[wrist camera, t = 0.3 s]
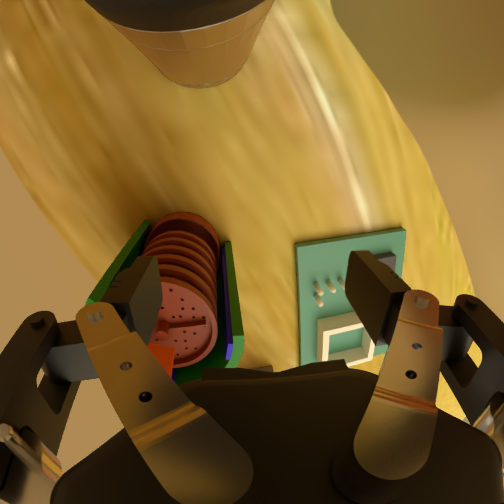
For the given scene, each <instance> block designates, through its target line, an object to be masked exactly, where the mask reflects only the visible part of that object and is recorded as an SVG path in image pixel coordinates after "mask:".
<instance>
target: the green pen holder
mask: <svg viewBox="0 0 504 504" xmlns="http://www.w3.org/2000/svg"><path fill="white" fill-rule="evenodd" d="M149 224H150V223H149V222H148V221H146V220H144V221H143V223H142V224H141V225H140V226H139V228H138V229H137V230H136V232H135V233H134V234H133V236H132V237H131V238H130V239H129V241H128V242H127V243H126V245H125V246H124V247H123V249H122V250H121V252H120V253H119V254H118V256H117V257H116V258H115V260H114V261H113V263H112V264H111V265H110V267H109V268H108V270H107V271H106V272H105V274H104V275H103V277H102V278H101V280H100V281H99V282H98V284H97V285H96V287H95V289H94V290H93V291H92V293H91V294H90V296H89V297H88V299H87V302H86V305H89V304H92V303H96V302H100V300H101V299H102V297H103V295H104V294H105V292H106V291H107V289H108V288H110V285H111V283H112V282H113V280H114V279H115V277H116V276H117V275H118V274H119V273H120V272H122V271H123V270H124V269H126V268H130V267H131V266H132V264H133V263H134V261H135V260H136V258H137V257H138V256H156V258H157V261H158V267H159V274H160V280H161V286H162V294H163V298H162V305H161V308H160V311H159V314H158V317H157V320H156V323H155V326H154V329H153V332H152V335H151V338H150V341H149V344H148V349H149V350H150V351H151V353H152V354H153V355H154V357H155V358H156V359H157V361H158V362H159V363H160V364H161V366H162V367H163V368H164V369H165V371H166V372H167V373H168V374H169V376H170V377H171V378H172V379H173V381H174V382H175V383H176V384H177V385H178V386H180V385H182V384H185V383H187V382H190V381H194V380H197V379H202V370H203V368H236V367H237V365H238V364H239V362H240V360H241V357H242V354H243V350H244V332H243V325H242V318H241V311H240V304H239V297H238V290H237V283H236V275H235V268H234V260H233V253H232V245H231V242H225V247H222V252H221V264H220V266H219V267H218V264H219V259H220V245H219V239H218V236H217V233H216V231H215V229H214V228H213V227H212V225H211V224H210V223H209V222H208V221H207V220H205V219H204V218H202V217H201V216H199V215H196V214H193V213H189V212H177V213H172V214H169V215H167V216H165V217H164V218H162V219H161V220H160V221H159V222H158V223H157V224H156V225H155V226H154V228H153V229H152V231H151V233H150V234H149V236H148V238H147V240H146V243H145V246H144V236H145V232H146V230H147V227H148V225H149ZM217 267H218V269H217ZM86 305H85V306H86Z"/></svg>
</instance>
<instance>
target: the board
mask: <svg viewBox="0 0 504 504" xmlns="http://www.w3.org/2000/svg"><path fill="white" fill-rule="evenodd" d="M405 240H406V230H405V229H403V228H396V229H390V230H383V231H376V232H370V233H363V234H356V235H350V236H343V237H337V238H330V239H323V240H317V241H310V242H304V243H297V244H295V254H296V271H297V292H298V317H299V351H300V366H302V365H305V364H309V363H313V362H322V361H330V360H338V359H344V360H345V362H346V364H347V367H349V366H353V365H356V364H360V363H364V362H367V361H370V360H372V358H373V356H376V355H379V354H383V353H386V352H387V349H388V345H381V346H375V345H374V343H373V341H372V339H371V338H370V336H369V334H368V333H367V331H366V329H365V328H364V326H363V324H362V322H361V321H360V319H359V317H358V316H357V314H356V313H355V311H354V309H353V308H352V306H351V304H350V303H349V301H348V299H347V298H346V295H345V279H346V273H347V266H348V259H349V254H350V252H351V251H358V250H369V251H370V252H371V253H372V254H373V255H374V256H375V257H376V258H377V259H378V260H379V261H381V262H383V263H385V264H386V265H388V266H389V267H390V268H391V269H392V270H393V271H394V272H395V273H396V274H397V275H398V276H399V278H401V275H402V268H403V259H404V250H405Z"/></svg>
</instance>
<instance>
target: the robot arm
mask: <svg viewBox="0 0 504 504" xmlns="http://www.w3.org/2000/svg"><path fill="white" fill-rule="evenodd" d="M85 1H86V2H87V3H88V4H89V5H90V6H91V7H93V8H94V9H95V10H96V11H97V12H98V13H99V14H101V15H102V16H103V17H104V18H105V19H106V20H107V21H108V22H110V23H111V24H112V25H113V26H114V27H115V28H116V29H117V30H118V31H119V32H121V33H122V34H123V35H124V36H125V37H126V38H127V39H128V40H129V41H131V42H132V43H133V44H134V45H135V46H136V47H137V48H138V49H139V50H140V51H141V52H142V53H143V54H144V55H145V56H146V57H147V58H148V59H149V60H150V61H151V62H152V63H153V64H154V65H155V66H156V67H157V68H158V69H159V70H160V71H161V72H162V73H163V74H164V75H166V76H167V77H168V78H169V79H170V80H172V81H173V82H175V83H177V84H179V85H182V86H185V87H190V88H208V87H212V86H216V85H219V84H221V83H223V82H226V81H227V80H229V79H230V78H232V77H233V76H235V75H236V74H237V73H238V72H239V71H240V70H241V69H242V67H243V65H244V64H245V62H246V61H247V58H248V56H249V54H250V52H251V50H252V47H253V45H254V43H255V41H256V38H257V36H258V34H259V32H260V30H261V28H262V25H263V23H264V21H265V19H266V17H267V15H268V13H269V11H270V9H271V7H272V5H273V3H274V1H275V0H85ZM345 295H346V298H347V299H348V301H349V303H350V304H351V306H352V308H353V309H354V311H355V313H356V314H357V316H358V317H359V319H360V321H361V322H362V324H363V326H364V328H365V329H366V331H367V333H368V334H369V336H370V338H371V339H372V341H373V343H374V345H375V346H381V345H388V349H387V352H386V355H385V357H384V360H383V363H382V366H381V369H380V371H379V374H378V375H376V374H373V373H370V372H367V371H363V370H359V369H351V368H348V367H347V364H346V362H345V360H344V359H338V360H330V361H322V362H313V363H309V364H305V365H302V366H299V367H295V368H292V369H288V370H285V371H281V372H266V371H259V370H251V369H244V368H203V370H202V379H197V380H194V381H190V382H187V383H185V384H182V385H180V386H178V385H177V384H176V383H175V382H174V381H173V379H172V378H171V377H170V376H169V374H168V373H167V372H166V371H165V369H164V368H163V367H162V366H161V364H160V363H159V362H158V361H157V359H156V358H155V357H154V355H153V354H152V353H151V351H150V350H149V349H148V344H149V341H150V338H151V335H152V332H153V329H154V326H155V323H156V320H157V317H158V314H159V311H160V308H161V305H162V298H163V294H162V286H161V280H160V274H159V267H158V261H157V258H156V256H138V257H137V258H136V260H135V261H134V263H133V264H132V266H131V267H130V268H126V269H124V270H123V271H122V272H120V273H119V274H118V275H117V276H116V277H115V279H114V280H113V282H112V283H111V285H110V288H108V289H107V291H106V292H105V294H104V295H103V297H102V299H101V300H100V302H96V303H92V304H89V305H86V306H84V307H83V308H81V309H80V310H79V311H78V313H77V314H76V320H74V321H68V322H61V323H57V320H56V318H55V316H54V314H53V313H52V312H50V311H40V312H36V313H34V314H32V315H30V316H29V317H27V318H26V319H25V320H24V321H23V323H22V324H21V325H20V327H19V328H18V330H17V331H16V332H15V334H14V335H13V337H12V338H11V340H10V341H9V342H8V344H7V345H6V347H5V348H4V350H3V351H2V353H1V354H0V504H504V488H503V477H504V323H503V322H502V321H501V320H500V319H499V318H498V317H497V316H496V315H495V314H494V313H493V312H492V311H491V310H490V309H489V308H488V307H487V306H486V305H485V304H484V303H483V302H482V301H481V300H480V299H478V298H476V297H474V296H472V295H467V294H462V295H459V296H457V298H456V301H455V303H454V306H443V305H439V301H438V299H437V298H436V297H435V296H434V295H432V294H431V293H429V292H426V291H423V290H412V289H411V288H410V287H409V286H408V285H407V284H406V283H405V282H404V281H403V280H402V279H401V278H399V276H398V275H397V274H396V273H395V272H394V271H393V270H392V269H391V268H390V267H389V266H388V265H386V264H385V263H383V262H381V261H379V260H378V259H377V258H376V257H375V256H374V255H373V254H372V253H371V252H370V251H369V250H358V251H351V252H350V254H349V259H348V266H347V273H346V279H345ZM473 340H474V342H475V343H476V344H477V345H478V347H479V348H480V349H481V351H482V362H481V364H480V366H479V368H478V367H477V366H476V365H475V363H474V362H473V360H472V359H471V358H470V356H469V355H468V353H467V352H468V350H469V348H470V346H471V344H472V342H473ZM41 368H42V369H43V371H44V373H45V374H44V376H43V378H42V380H41V382H40V384H39V387H38V388H37V383H36V379H37V374H38V372H39V370H40V369H41ZM440 372H441V373H442V375H443V377H444V378H445V380H446V382H447V383H448V385H449V387H450V388H451V390H452V392H453V393H454V395H455V397H456V399H457V400H458V402H459V404H460V406H461V408H462V409H463V411H464V413H465V415H466V417H467V418H468V420H469V422H470V424H471V425H469V424H467V423H466V422H463V421H462V420H460V419H458V418H456V417H454V416H452V415H450V414H448V413H446V412H444V411H442V410H441V409H439V408H437V407H436V405H435V402H436V396H437V389H438V382H439V374H440ZM96 378H99V379H100V381H101V383H102V385H103V387H104V389H105V391H106V394H107V396H108V397H109V399H110V401H111V403H112V405H113V407H114V409H115V411H116V413H117V415H118V417H119V418H120V420H121V422H122V423H123V425H124V428H123V429H122V430H121V431H119V432H118V433H117V434H116V435H114V436H113V437H112V438H110V439H109V440H108V441H107V442H106V443H104V444H103V445H101V446H100V447H99V448H97V449H96V450H95V451H93V452H92V453H91V454H90V455H88V456H87V457H86V458H84V459H83V460H82V461H80V462H79V463H77V464H76V465H75V466H73V467H72V468H71V469H69V470H68V471H67V472H65V473H64V474H63V475H62V468H61V463H60V461H59V460H58V458H57V457H56V456H57V452H58V449H59V445H60V442H61V439H62V435H63V432H64V429H65V425H66V422H67V419H68V416H69V413H70V410H71V408H72V404H73V401H74V399H75V396H76V393H77V390H78V388H79V385H80V382H81V381H82V380H89V379H96ZM61 475H62V476H61Z"/></svg>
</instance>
